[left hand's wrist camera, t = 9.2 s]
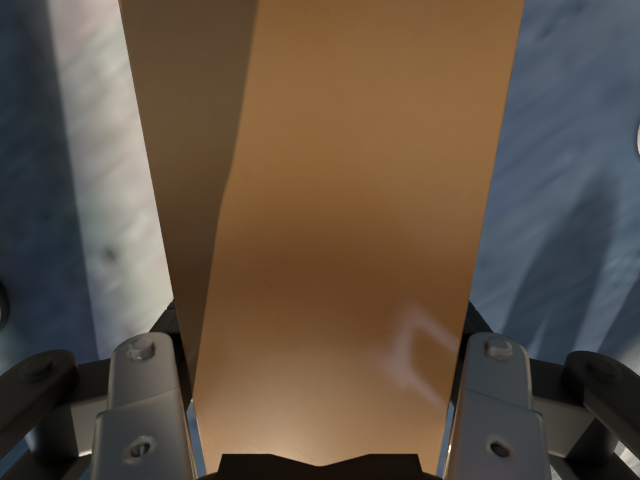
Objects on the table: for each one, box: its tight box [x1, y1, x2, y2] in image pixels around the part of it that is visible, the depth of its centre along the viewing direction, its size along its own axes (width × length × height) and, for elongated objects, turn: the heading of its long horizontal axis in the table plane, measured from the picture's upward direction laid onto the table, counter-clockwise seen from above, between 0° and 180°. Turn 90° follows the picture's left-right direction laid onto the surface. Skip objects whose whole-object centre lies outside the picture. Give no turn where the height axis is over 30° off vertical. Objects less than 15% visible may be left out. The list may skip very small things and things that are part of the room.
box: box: [118, 0, 525, 476], centre depth 10 cm, size 21×6×10 cm, turn 0°
